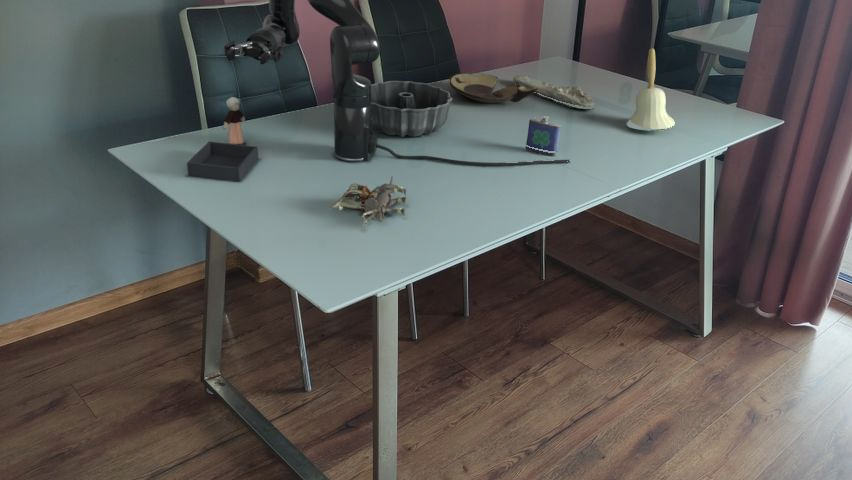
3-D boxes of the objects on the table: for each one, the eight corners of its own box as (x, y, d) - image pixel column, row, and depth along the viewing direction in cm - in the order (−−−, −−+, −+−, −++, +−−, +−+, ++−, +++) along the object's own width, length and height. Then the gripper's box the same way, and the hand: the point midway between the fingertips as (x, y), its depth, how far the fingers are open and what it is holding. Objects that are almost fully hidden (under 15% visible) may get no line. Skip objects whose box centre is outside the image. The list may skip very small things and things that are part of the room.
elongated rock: (524, 84, 273) (505, 90, 267) (525, 70, 271) (505, 75, 264) (602, 108, 253) (583, 114, 247) (603, 92, 250) (584, 98, 244)
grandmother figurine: (236, 150, 194) (232, 102, 188) (222, 148, 194) (218, 100, 188) (250, 140, 201) (247, 94, 194) (237, 138, 201) (233, 91, 195)
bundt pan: (340, 130, 214) (340, 95, 208) (386, 106, 235) (387, 74, 230) (424, 151, 206) (425, 116, 201) (464, 124, 228) (466, 92, 223)
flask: (557, 154, 214) (563, 118, 209) (554, 157, 212) (559, 121, 207) (527, 147, 217) (531, 111, 211) (523, 150, 215) (528, 114, 209)
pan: (258, 159, 191) (257, 146, 189) (239, 181, 179) (238, 168, 177) (210, 154, 191) (208, 141, 189) (188, 176, 179) (186, 162, 177)
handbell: (665, 137, 232) (667, 53, 221) (618, 133, 239) (618, 52, 228) (680, 125, 244) (684, 44, 233) (636, 121, 251) (637, 43, 240)
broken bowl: (482, 83, 265) (484, 61, 261) (544, 109, 248) (547, 86, 244) (433, 92, 251) (434, 69, 247) (494, 120, 234) (497, 96, 230)
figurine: (405, 211, 162) (325, 208, 160) (404, 235, 166) (326, 232, 164) (407, 169, 179) (334, 165, 177) (406, 191, 182) (335, 188, 180)
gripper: (237, 26, 209) (216, 40, 195) (289, 32, 209) (271, 47, 195) (239, 53, 213) (219, 69, 199) (290, 59, 213) (273, 76, 199)
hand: (245, 58), depth 197 cm, fingers open, 8 cm apart
